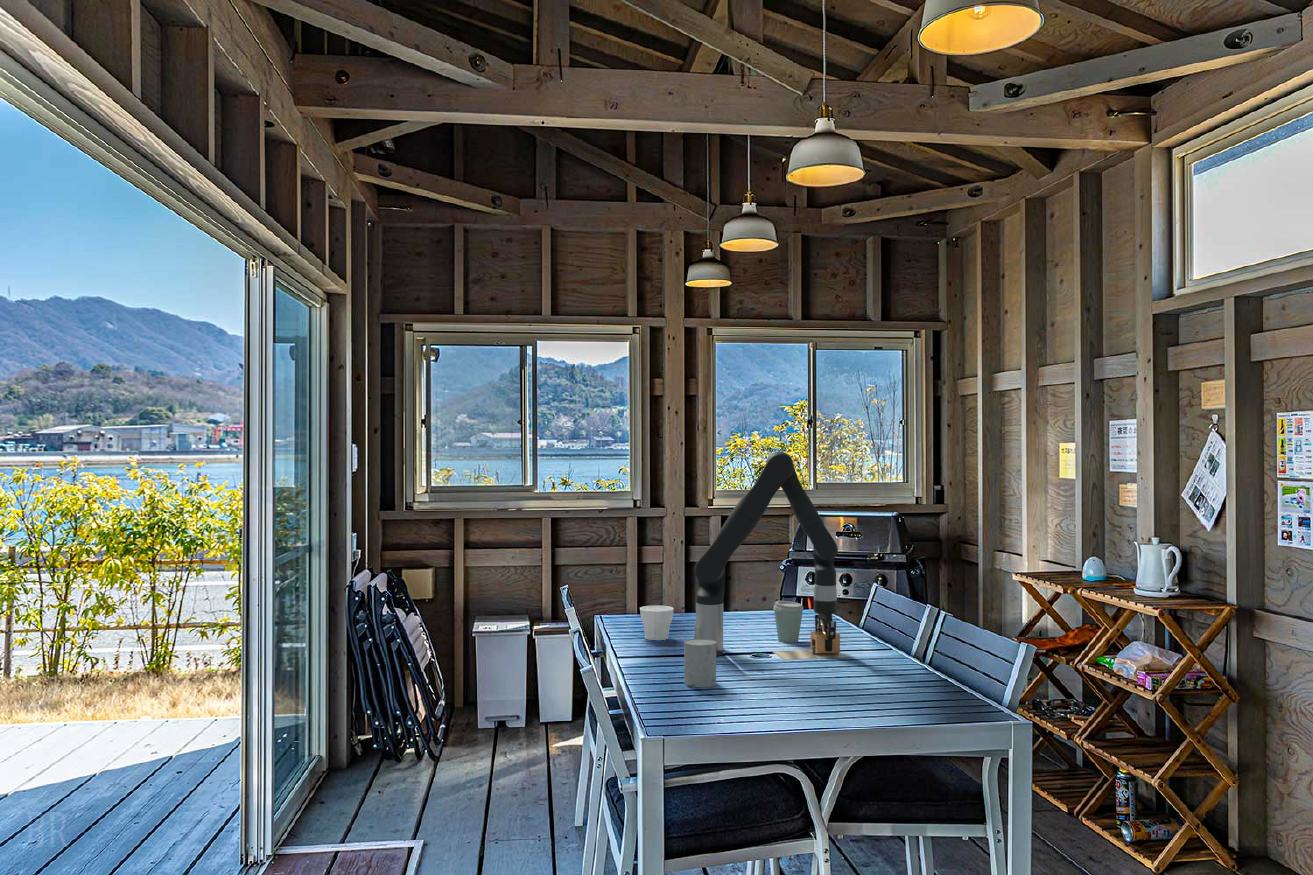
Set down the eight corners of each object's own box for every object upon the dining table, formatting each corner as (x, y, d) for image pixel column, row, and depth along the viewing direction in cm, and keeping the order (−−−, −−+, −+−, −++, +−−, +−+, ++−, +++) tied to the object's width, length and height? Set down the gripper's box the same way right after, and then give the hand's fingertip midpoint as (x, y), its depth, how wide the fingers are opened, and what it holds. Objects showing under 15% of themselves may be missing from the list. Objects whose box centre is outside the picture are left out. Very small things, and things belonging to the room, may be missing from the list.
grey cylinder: (694, 689, 272) (694, 646, 272) (678, 681, 280) (678, 640, 280) (722, 685, 276) (722, 643, 276) (705, 678, 284) (706, 637, 285)
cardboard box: (833, 648, 316) (833, 630, 316) (839, 652, 310) (840, 634, 310) (810, 649, 315) (810, 631, 315) (816, 653, 309) (816, 634, 309)
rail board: (783, 663, 303) (783, 651, 303) (771, 655, 315) (772, 643, 315) (847, 661, 307) (847, 649, 307) (834, 653, 319) (834, 641, 319)
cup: (680, 637, 345) (680, 607, 345) (661, 643, 334) (662, 612, 334) (651, 633, 351) (651, 604, 351) (632, 639, 341) (632, 608, 341)
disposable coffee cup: (802, 642, 338) (802, 600, 338) (804, 648, 327) (804, 605, 327) (772, 641, 339) (772, 599, 339) (773, 647, 328) (773, 604, 328)
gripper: (844, 601, 306) (844, 653, 306) (828, 594, 320) (828, 644, 320) (822, 602, 305) (822, 654, 305) (807, 595, 319) (807, 644, 319)
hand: (825, 648), depth 312 cm, fingers closed on cardboard box, 6 cm apart
